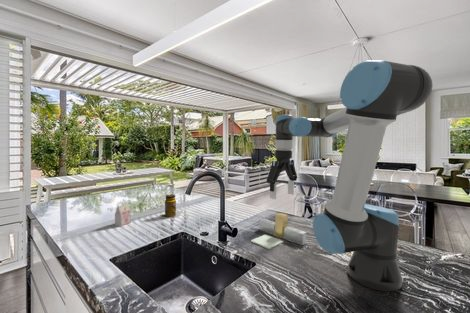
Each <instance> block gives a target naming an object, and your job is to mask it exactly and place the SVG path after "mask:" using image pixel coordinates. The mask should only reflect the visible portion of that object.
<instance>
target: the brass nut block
mask: <svg viewBox="0 0 470 313" xmlns="http://www.w3.org/2000/svg"><path fill="white" fill-rule="evenodd" d="M288 218H289V215H288V214H286V213H282V212H280V213H277V214H275V219H274V220H275V221H274V222H275V235H274V237H275V238H276V237H277V238H278V239H279V238H280V239H284V230H285V228H286V227H288V224H289V221H288V220H289V219H288Z"/></svg>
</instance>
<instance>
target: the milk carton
mask: <svg viewBox="0 0 470 313" xmlns="http://www.w3.org/2000/svg"><path fill="white" fill-rule="evenodd" d="M131 211H132V210H131V209H130V205H129V203H124V204H121V205H119V206H117V207H116V211H115V213H114V227H115V226H116V227H120V228H121V227H124V226H125V225H128V224H130V223H131V222H132V218H131V217H132V213H131Z"/></svg>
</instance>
